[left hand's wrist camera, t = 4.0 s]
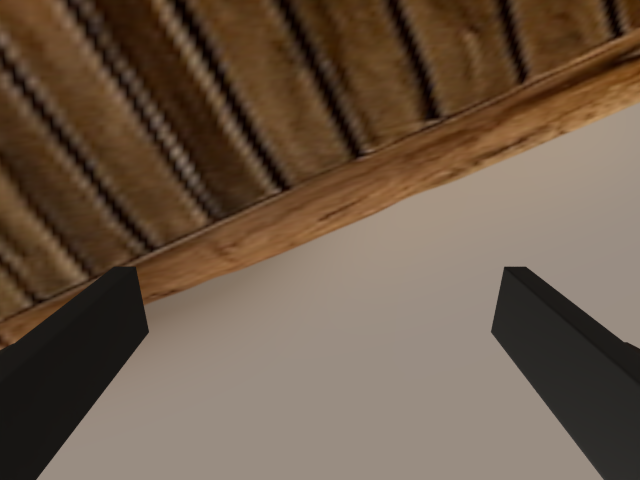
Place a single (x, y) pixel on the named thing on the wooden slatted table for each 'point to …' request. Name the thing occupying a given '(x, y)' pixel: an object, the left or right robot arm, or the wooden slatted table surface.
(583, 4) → the wooden slatted table surface
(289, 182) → the wooden slatted table surface
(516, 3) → the wooden slatted table surface
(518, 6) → the wooden slatted table surface
